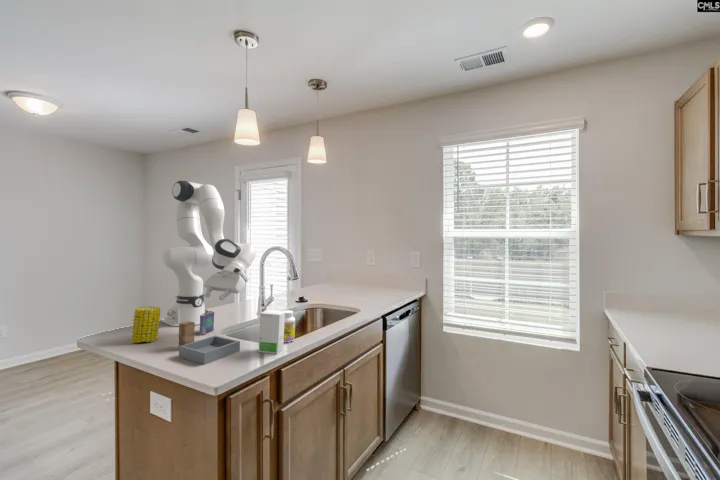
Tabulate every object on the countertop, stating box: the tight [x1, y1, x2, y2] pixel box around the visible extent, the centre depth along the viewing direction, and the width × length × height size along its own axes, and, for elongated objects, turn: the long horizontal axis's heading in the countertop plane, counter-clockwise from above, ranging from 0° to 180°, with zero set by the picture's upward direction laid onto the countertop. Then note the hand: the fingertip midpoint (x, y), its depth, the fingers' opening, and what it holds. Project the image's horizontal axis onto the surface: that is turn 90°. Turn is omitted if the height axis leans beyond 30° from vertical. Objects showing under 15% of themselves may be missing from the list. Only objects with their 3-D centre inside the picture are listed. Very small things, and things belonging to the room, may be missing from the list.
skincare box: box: [257, 309, 285, 355], centre depth 134 cm, size 8×7×16 cm
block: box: [178, 321, 196, 347], centre depth 135 cm, size 4×4×10 cm
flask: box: [199, 308, 215, 336], centre depth 156 cm, size 9×3×11 cm, turn 172°
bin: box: [178, 335, 241, 365], centre depth 129 cm, size 14×16×4 cm
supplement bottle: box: [283, 309, 296, 344], centre depth 147 cm, size 7×7×13 cm
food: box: [131, 305, 161, 344], centre depth 143 cm, size 15×12×10 cm
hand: (213, 298), depth 146 cm, fingers open, 8 cm apart
